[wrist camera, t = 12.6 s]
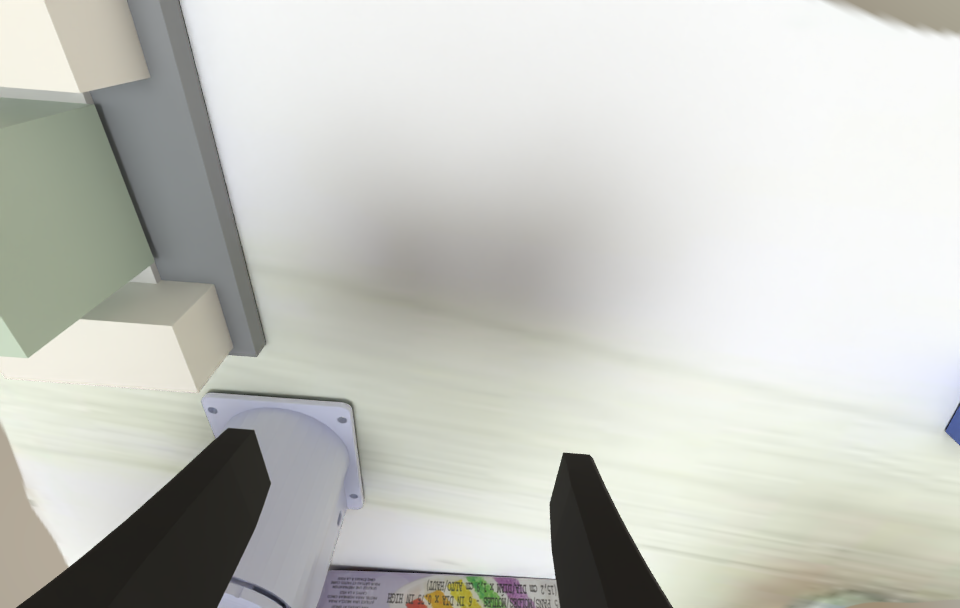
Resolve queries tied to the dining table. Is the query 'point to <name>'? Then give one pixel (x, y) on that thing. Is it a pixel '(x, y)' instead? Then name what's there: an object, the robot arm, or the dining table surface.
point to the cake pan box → (434, 591)
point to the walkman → (955, 427)
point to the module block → (60, 221)
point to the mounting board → (173, 169)
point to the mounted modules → (136, 306)
